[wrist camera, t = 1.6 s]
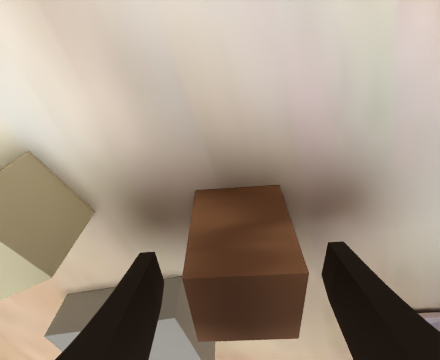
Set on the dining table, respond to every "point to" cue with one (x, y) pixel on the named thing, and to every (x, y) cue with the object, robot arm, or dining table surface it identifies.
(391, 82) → the dining table surface
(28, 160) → the sage block
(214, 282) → the walnut block
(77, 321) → the base block
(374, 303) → the robot arm
